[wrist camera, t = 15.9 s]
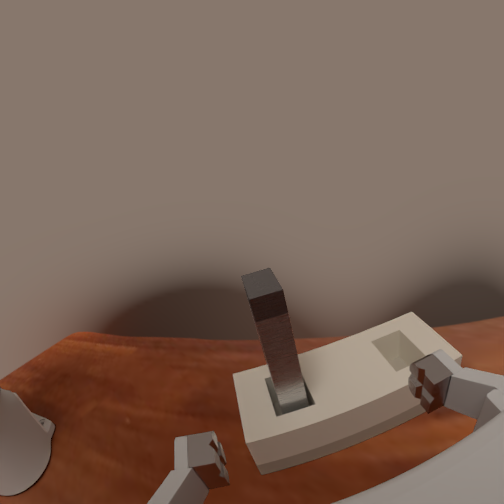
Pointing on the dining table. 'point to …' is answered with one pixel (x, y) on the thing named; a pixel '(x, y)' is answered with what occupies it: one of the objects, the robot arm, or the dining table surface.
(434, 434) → the dining table surface
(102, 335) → the dining table surface
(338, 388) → the joystick lever base
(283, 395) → the tall square peg
